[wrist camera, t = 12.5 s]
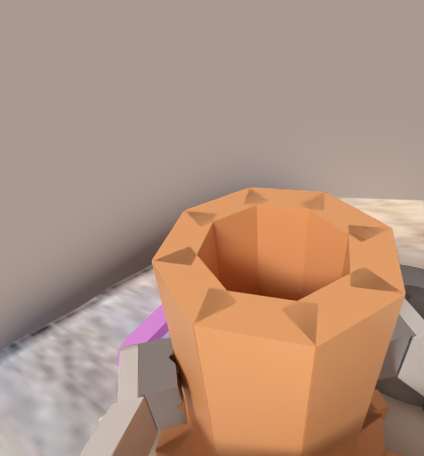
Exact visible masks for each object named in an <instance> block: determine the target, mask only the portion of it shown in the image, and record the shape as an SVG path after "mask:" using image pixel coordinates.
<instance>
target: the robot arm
mask: <svg viewBox="0 0 424 456" xmlns="http://www.w3.org/2000/svg"><path fill="white" fill-rule="evenodd" d="M394 376H398V378H399V379H401V380H402V381H403V382H405V383H406V384H407V385H409V386H410V387H411V388H413V389H414V390H416V391H417V392H418V393H420V394H421V395H422V396H424V319H423V318H422V317H421V316H420V315H419V314H418V313H417V312H416V310H415V309H414V308H413V307H412V306H411V305H410V304H409V303H408V301H407V300H406V299H405V298H404V300H403V303H402V307H401V310H400V313H399V316H398V319H397V322H396V325H395V328H394V331H393V334H392V337H391V340H390V343H389V346H388V349H387V352H386V356H385V359H384V362H383V365H382V368H381V371H380V374H379V377H378V380H379V379H384V378H389V377H394ZM182 387H183V386H182V382H181V378H180V374H179V370H178V366H177V362H176V358H175V354H174V350H173V346H172V342H171V338H166V339H161V340H155V341H150V342H144V343H139V344H133V345H128V346H123V347H121V351H120V362H119V382H118V402H115V403H112V404H111V406H110V407H109V409H108V411H107V412H106V414H105V415H104V417H103V419H102V420H101V422H100V423H99V425H98V426H97V428H96V430H95V431H94V433H93V434H92V436H91V438H90V439H89V441H88V442H87V444H86V445H85V447H84V449H83V450H82V452H81V453H80V455H79V456H149V453H150V451H151V448H152V446H153V444H154V441H155V439H156V437H157V434H158V432H157V431H160V430H164V429H168V428H171V427H175V426H179V425H183V424H187V417H186V408H185V400H184V395H183V391H182Z"/></svg>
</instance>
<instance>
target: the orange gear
mask: <svg viewBox="0 0 424 456" xmlns="http://www.w3.org/2000/svg"><path fill="white" fill-rule="evenodd" d="M152 264H153V268H154V272H155V276H156V280H157V284H158V289H159V293H160V297H161V301H162V305H163V309H164V313H165V317H166V321H167V325H168V329H169V333H170V337H171V342H172V346H173V350H174V354H175V358H176V362H177V366H178V370H179V374H180V378H181V382H182V386H183V387H182V391H183V395H184V400H185V408H186V417H187V424H183V425H179V426H175V427H171V428H168V429H164V430H160V431H163V432H162V434H161V437H160V439H159V442H158V445H157V447H156V449H155V452H156V455H157V456H405V455H401V454H397V453H393V452H389V451H386V449H385V438H384V428H383V421H384V419H385V416H386V413H387V411H388V408H389V405H388V404H387V402H386V401H385V399H384V398H383V396H382V395H381V394H380V392H379V391H378V389H376V390H374V389H375V386H376V383H377V380H378V377H379V374H380V371H381V368H382V365H383V362H384V359H385V356H386V352H387V349H388V346H389V343H390V340H391V337H392V334H393V331H394V328H395V325H396V322H397V319H398V316H399V313H400V310H401V307H402V303H403V300H404V297H405V294H406V293H405V288H404V283H403V278H402V274H401V269H400V264H399V259H398V255H397V250H396V245H395V240H394V236H393V231H392V228H391V227H389V226H387V225H385V224H383V223H382V222H380V221H378V220H376V219H374V218H372V217H371V216H369V215H367V214H365V213H363V212H361V211H360V210H358V209H356V208H354V207H352V206H350V205H349V204H347V203H345V202H343V201H341V200H339V199H337V198H336V197H334V196H332V195H330V194H328V193H326V192H317V191H301V190H285V189H268V188H252V187H251V188H246V189H243V190H241V191H238V192H235V193H232V194H229V195H227V196H224V197H221V198H218V199H215V200H212V201H210V202H207V203H204V204H201V205H199V206H196V207H193V208H190V209H187V210H185V211H183V213H182V215H181V216H180V218H179V219H178V221H177V223H176V224H175V226H174V227H173V229H172V230H171V232H170V233H169V235H168V236H167V238H166V239H165V241H164V242H163V244H162V246H161V247H160V249H159V250H158V252H157V253H156V255H155V256H154V258H153V259H152Z"/></svg>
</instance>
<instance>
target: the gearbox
mask: <svg viewBox="0 0 424 456" xmlns="http://www.w3.org/2000/svg"><path fill="white" fill-rule="evenodd" d="M400 269H401V274H402V278H403V283H404V288H405V293H406V294H405V297H404V298H405V299H406V300H407V301H408V303H409V304H410V305H411V306H412V307H413V308H414V309H415V310H416V312H417V313H418V314H419V315H420V316H421V317H422V318H423V319H424V269H421V268H416V267H412V266H406V265H401V264H400ZM376 389H378V391H379V392H380V394H381V395H382V396H383V398H384V399H385V401H386V402H387V404H388V405H389V408H388V411H387V413H386V416H385V419H384V421H383V428H384V438H385V449H386V451H389V452H393V453H397V454H401V455H405V456H424V396H422V395H421V394H420V393H418V392H417V391H416V390H414V389H413V388H411V387H410V386H409V385H407V384H406V383H405V382H403V381H402V380H401V379H399V378H398V376H394V377H389V378H384V379H379V380H377V383H376V386H375V389H374V390H376ZM103 417H104V416H103ZM103 417H101V418H100V419H98V420H99V422H101V420H102V419H103ZM157 432H158V434H157V437H156V439H155V441H154V444H153V446H152V448H151V451H150V453H149V456H157V455H156V452H155V449H156V447H157V445H158V442H159V439H160V437H161V434H162V432H163V431H157Z"/></svg>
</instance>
